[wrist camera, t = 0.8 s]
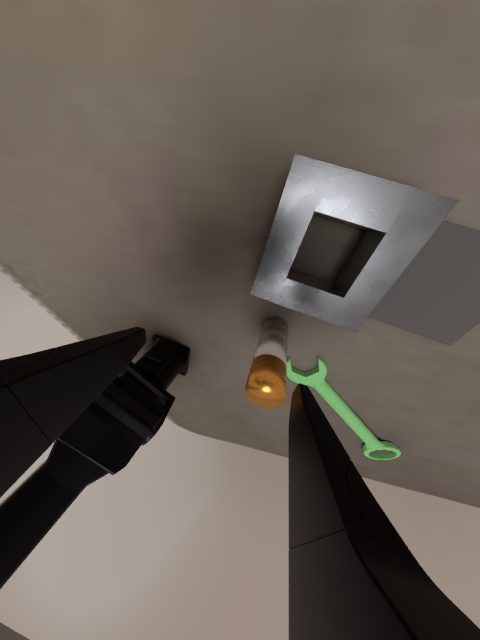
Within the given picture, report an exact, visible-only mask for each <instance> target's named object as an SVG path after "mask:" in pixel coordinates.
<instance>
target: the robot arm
mask: <svg viewBox="0 0 480 640" xmlns="http://www.w3.org/2000/svg"><path fill="white" fill-rule="evenodd" d="M145 343H146V331H145V329H144V328H141V327H134V328H130V329H126V330H122V331H119V332H115V333H111V334H107V335H103V336H99V337H95V338H91V339H87V340H83V341H79V342H76V343H72V344H68V345H64V346H60V347H57V348H52V349H48V350H44V351H40V352H36V353H32V354H28V355H23V356H19V357H14V358H9V359H5V360H0V497H1V496H2V495H3V494H4V493H5V492H6V491H7V490H8V489H9V488H10V487H11V486H12V485H13V484H14V483H15V482H16V481H17V480H18V479H19V478H20V476H22V474H24V473H25V471H26V470H27V469H28V468H29V467H30V466H31V465H32V464H33V463H34V462H35V461H36V460H37V459H38V458H39V457H40V456H41V455H42V454H43V453H44V452H45V451H46V450H47V449H48V448H49V447H50V446H51V444H52V443H53V442H54V441H55V440H56V441H55V443H54V445H53V448H52V450H51V452H50V454H49V457H48V459H47V460H46V461H45V462H43V463H42V464H41V465H40V466H39V467H38V468H37V469H36V470H35V471H34V472H33V473H32V474H31V475H30V476H29V477H28V478H27V479H26V480H25V481H24V482H23V483H22V484H21V485H19V486H18V487H17V488H16V489H15V490H14V491H13V492H12V493H11V494H10V495H9V496H8V497H7V498H6V499H5V500H4V501H3V502H2V503H1V504H0V589H1V588H2V586H3V585H4V584H5V583H6V581H7V580H8V579H9V578H10V577H11V576H12V574H13V573H14V572H15V571H16V570H17V568H18V567H19V566H20V565H21V564H22V562H23V561H24V560H25V559H26V558H27V556H28V555H29V554H30V553H31V551H32V550H33V549H34V548H35V546H36V545H37V544H38V543H39V542H40V541H41V540H42V538H43V537H44V536H45V535H46V534H47V532H48V531H49V530H50V529H51V528H52V526H53V525H54V524H55V523H56V522H57V520H58V519H59V518H60V517H61V516H62V514H63V513H64V512H65V511H66V510H67V508H68V507H69V506H70V505H71V504H72V502H73V501H74V500H75V499H76V498H77V496H78V495H79V494H80V493H81V492H82V491H83V489H84V488H85V487H86V486H87V485H89V484H91V483H93V482H94V481H96V480H98V479H100V478H101V477H103V476H105V475H106V474H108V473H110V474H112V475H113V474H115V473H117V472H118V471H120V470H121V469H123V468H124V467H125V466H126V465H127V464H128V462H129V461H130V459H131V458H132V457H133V455H134V454H135V452H136V451H137V450H138V449H139V447H140V446H141V445H144V444H146V443H147V442H149V441H150V440H151V438H152V437H153V436H154V435H155V434H156V432H157V431H158V430H159V429H160V427H161V426H162V424H163V422H164V420H165V418H166V416H167V414H168V412H169V410H170V408H171V406H172V404H173V402H174V400H175V397H174V396H173V395H171V394H169V393H168V392H167V391H166V389H167V388H168V387H169V385H170V384H171V383H172V381H173V380H174V379H175V377H176V376H177V375H178V374H181V375H183V376H185V375H186V373H187V367H188V360H189V353H190V350H189V348H187V347H185V346H182V345H180V344H177V343H175V342H172V341H170V340H167V339H165V338H162V337H160V336H157V335H154V336H152V348H151V349H150V350H149V351H147V352H146V353H145V354H144V356H143V357H142V358H140V359H139V360H138V361H137V362H136V363H135V364H134V363H133V362H131V361H132V359H133V358H134V357H135V356H136V354H137V353H138V352H139V351H140V349H141V348H142V347H143V346H144V344H145ZM350 460H351V459H350V457H349V456H348V454H347V452H346V450H345V449H344V447H343V445H342V444H341V442H340V440H339V439H338V437H337V435H336V434H335V432H334V430H333V428H332V427H331V425H330V423H329V422H328V420H327V418H326V417H325V415H324V413H323V412H322V410H321V408H320V406H319V405H318V403H317V401H316V400H315V398H314V396H313V395H312V393H311V391H310V390H309V388H308V386H307V385H304V384H301V383H299V384H298V385H297V387H296V388H295V390H294V392H293V394H292V400H291V409H290V418H289V640H480V629H479V628H478V627H477V626H476V625H475V624H474V623H473V622H472V621H471V620H470V619H469V618H468V617H467V616H466V615H465V614H464V613H463V612H462V611H461V610H460V609H459V608H458V607H457V606H456V605H455V604H453V602H451V600H450V599H449V598H448V597H447V596H446V595H445V594H444V593H443V592H442V591H441V590H440V589H439V588H438V587H437V586H436V585H435V583H434V582H433V581H432V580H431V579H430V577H429V576H428V575H427V574H426V572H425V571H424V570H423V569H422V567H421V566H420V565H419V563H418V562H417V560H416V559H415V557H414V556H413V555H412V553H411V552H410V550H409V549H408V547H407V546H406V544H405V543H404V541H403V540H402V538H401V537H400V536H399V534H398V533H397V531H396V529H395V528H394V526H393V525H392V523H391V522H390V521H389V519H388V517H387V516H386V514H385V513H384V512H383V510H382V509H381V507H380V505H379V504H378V502H377V501H376V500H375V498H374V496H373V495H372V493H371V492H370V490H369V489H368V487H367V486H366V484H365V482H364V481H363V479H362V477H361V476H360V474H359V472H358V471H357V469H356V467H355V466H354V464H353V462H352V461H350ZM0 640H29V639H27V638H26V637H24V636H22V635H20V634H19V633H17V632H15V631H14V630H12V629H10V628H9V627H7V626H5V625H3V624H2V623H0Z"/></svg>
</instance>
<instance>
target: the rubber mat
mask: <svg viewBox="0 0 480 640" xmlns="http://www.w3.org/2000/svg"><path fill="white" fill-rule="evenodd" d="M368 317H369V318H372V319H375V320H378V321H381V322H384V323H387V324H390V325H392V326H395V327H398V328H401V329H404V330H407V331H410V332H413V333H415V334H418V335H421V336H424V337H427V338H430V339H433V340H436V341H438V342H441V343H444V344H447V345H450V346H451V345H452V344H453V343H455V342H456V341H457V340H458V339H460V338H461V337H462V336H463V335H465V334H466V333H467V332H468V331H470V330H471V329H472V328H473V327H474V326H476V325H477V324H478V323H479V322H480V231H477V230H474V229H470V228H467V227H463V226H460V225H457V224H453V223H450V222H446V221H443V222H442V223H441V224H440V226H439V227H438V228H437V229H436V231H435V232H434V233H433V234H432V236H431V237H430V238H429V240H428V241H427V242H426V243H425V245H424V246H423V247H422V248H421V250H420V251H419V252H418V253H417V255H416V256H415V257H414V258H413V260H412V261H411V262H410V264H409V265H408V266H407V267H406V269H405V270H404V271H403V272H402V274H401V275H400V276H399V277H398V279H397V280H396V281H395V282H394V284H393V285H392V286H391V287H390V289H389V290H388V291H387V293H386V294H385V295H384V296H383V298H382V299H381V300H380V301H379V303H378V304H377V305H376V306H375V308H374V309H373V310H372V311H371V313H370V314H369V315H368Z"/></svg>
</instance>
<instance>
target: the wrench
mask: <svg viewBox="0 0 480 640" xmlns="http://www.w3.org/2000/svg"><path fill="white" fill-rule="evenodd" d="M326 374H327V367H326V364H325V362H324V361H323V359H322V358H321V357H319V356H318V367H317V368H314V369H312V370H309V371H307V372H304V371H301V370H298V369H296V368H293V367H292V365H291V358H290V357H289V358H288V359H287V370H286V375H287V376H288V378H290V379H291V380H292V381H294V382H295V383H298V384H299V383H301V384H304V385H309V386H312V387H314V388H315V389H316V390H317V392H318V393H319V394H320V395H321V396H322V397H323V398H324V399H325V400H326V401H327V402H328V403H329V405H330V406H331V407H332V408H333V409H334V410H335V411H336V412H337V413H338V414H339V415H340V417H341V418H342V419H343V420H344V421H345V422H346V423H347V424H348V425H349V426H350V427H351V428H352V430H353V431H354V432H355V433H356V434H357V435H358V436H359V437H360V438H361V439H362V440H363V442H364V443H365V444H364V445H363V446H362V450H363V452H364V455H365V456H367V457H369V458H371V459H377V460H389V459H394V458H397V457H398V456H400V454H401V452H400V450H399V448H398V446H397V445H396V444H394V443H391V442H387V441H379V440H378V439H377V438H376V437H375V436H374V434H373V433H372V432H371V431H370V430H369V429H368V428H367V427H366V425H365V424H364V423H363V422H362V421H361V420H360V419H359V418H358V416H357V415H356V414H355V413H354V412H353V411H352V410H351V409H350V408H349V406H348V405H347V404H346V403H345V402H344V401H343V400H342V399H341V397H340V396H339V395H338V394H337V393H336V392H335V391H334V390H333V388H332V387H331V386H330V385H329V384H328V383H327V382H326V381H325V376H326ZM384 449H385V450H392V453H389V454H386V455H383V454H380V455H378V454H375V453H371V451H375V450H384Z"/></svg>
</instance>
